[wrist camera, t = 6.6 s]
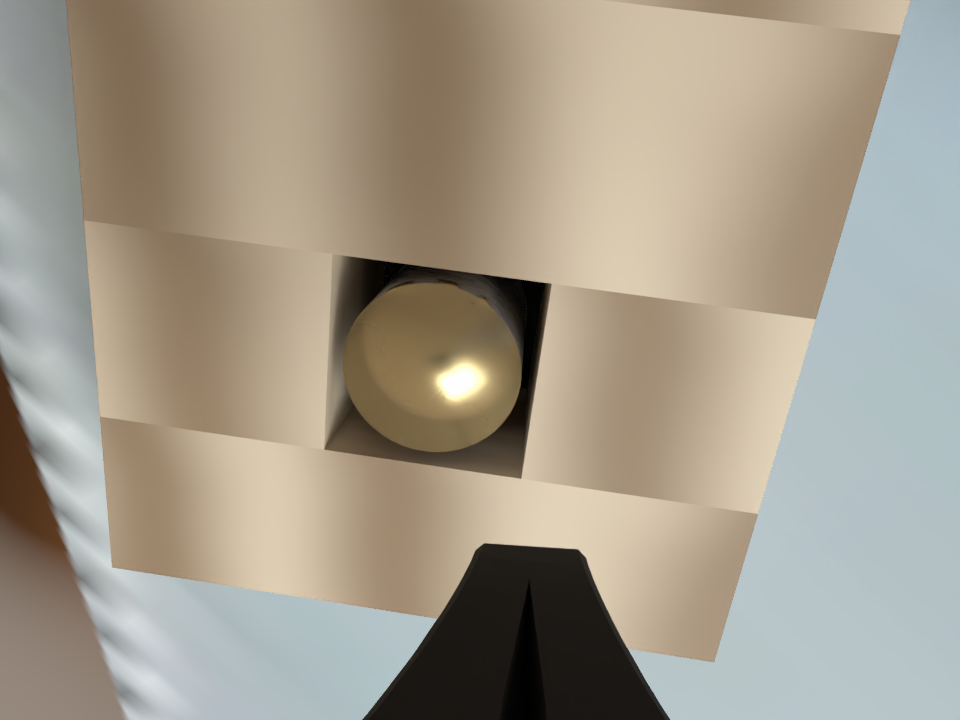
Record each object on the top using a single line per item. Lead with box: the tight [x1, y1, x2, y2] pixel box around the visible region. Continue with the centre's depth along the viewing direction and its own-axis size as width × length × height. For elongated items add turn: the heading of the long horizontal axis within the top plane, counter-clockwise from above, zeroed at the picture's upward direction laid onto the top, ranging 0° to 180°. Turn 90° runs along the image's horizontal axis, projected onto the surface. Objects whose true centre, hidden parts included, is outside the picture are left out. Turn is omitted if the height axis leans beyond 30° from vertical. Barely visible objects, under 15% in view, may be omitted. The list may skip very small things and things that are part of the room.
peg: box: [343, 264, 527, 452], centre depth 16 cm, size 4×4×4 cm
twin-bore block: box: [66, 0, 911, 662], centre depth 15 cm, size 14×21×5 cm, turn 173°
